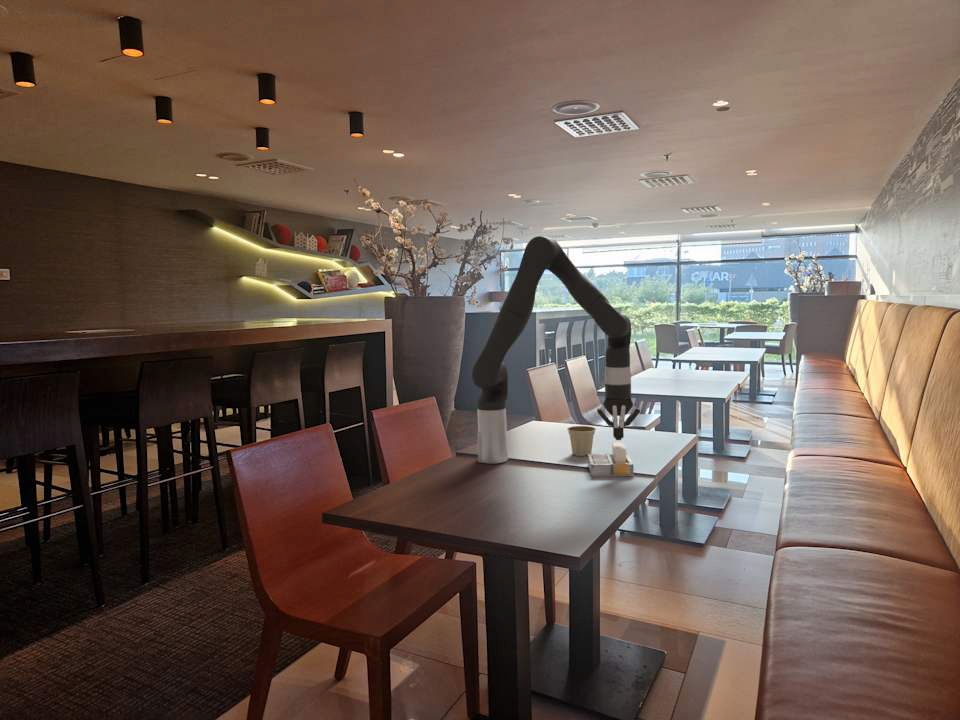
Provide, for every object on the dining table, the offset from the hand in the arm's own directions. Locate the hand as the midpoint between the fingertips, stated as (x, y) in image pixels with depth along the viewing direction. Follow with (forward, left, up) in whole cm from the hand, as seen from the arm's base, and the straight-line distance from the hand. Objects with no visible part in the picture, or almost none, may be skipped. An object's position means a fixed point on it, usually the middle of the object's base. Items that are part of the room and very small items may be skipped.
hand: (618, 439), depth 185 cm
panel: (0, 0, -9) cm, 9 cm away
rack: (-3, 0, -9) cm, 10 cm away
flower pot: (-10, +20, -10) cm, 25 cm away
